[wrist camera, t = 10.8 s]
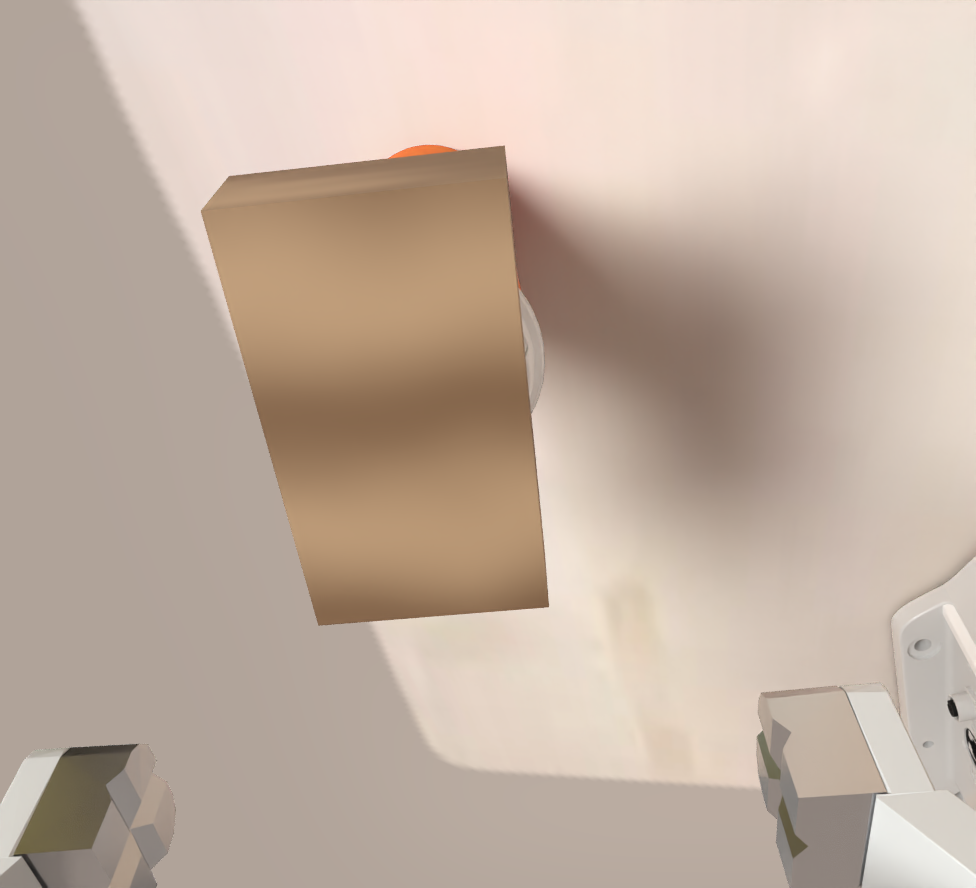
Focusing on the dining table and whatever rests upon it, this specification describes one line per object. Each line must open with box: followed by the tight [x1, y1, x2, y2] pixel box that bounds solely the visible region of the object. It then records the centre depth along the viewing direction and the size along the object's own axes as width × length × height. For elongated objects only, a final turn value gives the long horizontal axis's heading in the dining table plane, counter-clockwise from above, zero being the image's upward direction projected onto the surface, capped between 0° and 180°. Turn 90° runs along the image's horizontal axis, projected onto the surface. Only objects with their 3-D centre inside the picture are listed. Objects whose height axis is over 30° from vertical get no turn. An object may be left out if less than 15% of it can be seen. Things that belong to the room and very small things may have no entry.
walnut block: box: [201, 146, 549, 625], centre depth 24 cm, size 12×6×2 cm, turn 6°
